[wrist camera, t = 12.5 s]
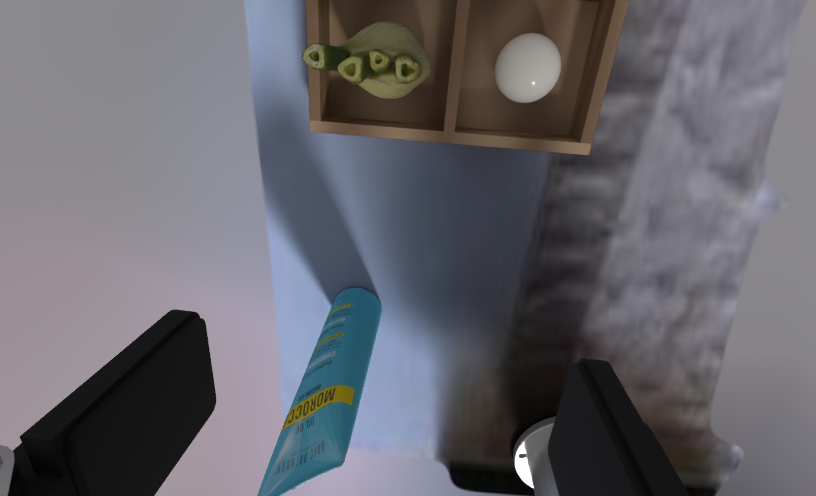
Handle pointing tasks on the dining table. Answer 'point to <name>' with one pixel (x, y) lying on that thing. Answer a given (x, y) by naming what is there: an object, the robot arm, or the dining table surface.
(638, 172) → the dining table surface
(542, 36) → the cream egg
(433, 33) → the wooden compartment tray
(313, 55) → the fennel bulb
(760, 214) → the dining table surface
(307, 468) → the tube
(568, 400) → the robot arm
